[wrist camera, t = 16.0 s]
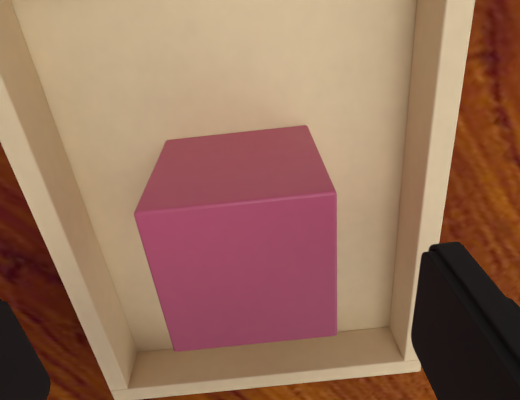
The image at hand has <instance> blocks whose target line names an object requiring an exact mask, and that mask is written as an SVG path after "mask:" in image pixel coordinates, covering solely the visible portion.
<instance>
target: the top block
mask: <svg viewBox="0 0 520 400" xmlns="http://www.w3.org/2000/svg"><path fill="white" fill-rule="evenodd" d="M134 217H135V221H136V224H137V227H138V231H139V234H140V238H141V241H142V244H143V248H144V251H145V255H146V258H147V261H148V265H149V268H150V271H151V275H152V278H153V282H154V285H155V288H156V292H157V295H158V298H159V302H160V305H161V309H162V312H163V315H164V319H165V322H166V326H167V329H168V332H169V336H170V339H171V342H172V346H173V349H174V351H175V352H180V351H190V350H200V349H209V348H219V347H229V346H239V345H249V344H259V343H269V342H279V341H289V340H298V339H308V338H318V337H328V336H335V335H337V193H336V190H335V188H334V186H333V183H332V181H331V179H330V176H329V174H328V172H327V170H326V167H325V165H324V163H323V160H322V158H321V156H320V154H319V151H318V149H317V147H316V144H315V142H314V140H313V137H312V135H311V133H310V131H309V128H308V126H306V125H303V126H293V127H284V128H275V129H265V130H256V131H247V132H238V133H228V134H219V135H210V136H200V137H191V138H182V139H172V140H167V141H166V142H165V144H164V146H163V149H162V151H161V153H160V155H159V158H158V160H157V162H156V164H155V167H154V169H153V171H152V173H151V176H150V178H149V180H148V182H147V185H146V187H145V189H144V191H143V194H142V196H141V198H140V200H139V202H138V205H137V207H136V209H135V211H134Z"/></svg>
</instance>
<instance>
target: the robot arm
mask: <svg viewBox="0 0 520 400" xmlns="http://www.w3.org/2000/svg"><path fill="white" fill-rule="evenodd" d="M411 341H412V345H413V348H414V351H415V353H416V355H417V357H418V359H419V361H420V363H421V366H422V368H423V370H424V372H425V374H426V376H427V378H428V380H429V382H430V384H431V386H432V389H433V391H434V393H435V395H436V397H437V399H438V400H520V307H519V306H518V305H517V304H516V303H515V302H514V301H513V300H511V299H509V298H507V297H505V296H504V294H503V293H502V292H501V291H500V290H499V288H498V287H497V286H496V285H495V284H494V282H493V281H492V280H491V279H490V278H489V276H488V275H487V274H486V273H485V272H484V270H483V269H482V268H481V267H480V266H479V264H478V263H477V262H476V261H475V259H474V258H473V257H472V256H471V255H470V253H469V252H468V251H467V250H466V249H465V247H464V246H463V245H462V244H461V243H459V242H449V243H440V244H433V245H431V246H430V247H429V250H428V252H423V253H422V256H421V262H420V269H419V277H418V284H417V292H416V299H415V307H414V315H413V322H412V330H411ZM50 383H51V382H50V377H49V375H48V373H47V371H46V370H45V368H44V366H43V364H42V362H41V361H40V359H39V357H38V355H37V354H36V352H35V350H34V348H33V347H32V345H31V343H30V341H29V339H28V338H27V336H26V334H25V332H24V331H23V329H22V327H21V325H20V323H19V322H18V320H17V318H16V316H15V315H14V313H13V311H12V309H11V307H10V306H9V304H8V303H7V302H5V301H2V300H1V299H0V400H46V399H47V397H48V394H49V391H50Z"/></svg>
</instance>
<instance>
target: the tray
mask: <svg viewBox="0 0 520 400" xmlns="http://www.w3.org/2000/svg"><path fill="white" fill-rule="evenodd" d="M474 4H475V0H0V142H1V144H2V147H3V149H4V151H5V153H6V156H7V158H8V160H9V162H10V165H11V167H12V169H13V172H14V174H15V176H16V178H17V181H18V183H19V185H20V187H21V190H22V192H23V194H24V196H25V199H26V201H27V203H28V205H29V208H30V210H31V212H32V215H33V217H34V219H35V221H36V224H37V226H38V228H39V230H40V233H41V235H42V237H43V239H44V242H45V244H46V246H47V248H48V251H49V253H50V255H51V258H52V260H53V262H54V264H55V267H56V269H57V271H58V273H59V276H60V278H61V280H62V282H63V285H64V287H65V289H66V292H67V294H68V296H69V298H70V301H71V303H72V305H73V307H74V310H75V312H76V314H77V316H78V319H79V321H80V323H81V325H82V328H83V330H84V332H85V335H86V337H87V339H88V341H89V344H90V346H91V348H92V350H93V353H94V355H95V357H96V359H97V362H98V364H99V366H100V369H101V371H102V373H103V375H104V378H105V380H106V382H107V384H108V387H109V389H110V390H111V393H112V396H113V398H114V400H139V399H149V398H159V397H169V396H179V395H189V394H199V393H209V392H219V391H229V390H239V389H249V388H259V387H269V386H279V385H289V384H299V383H309V382H319V381H329V380H339V379H349V378H359V377H369V376H379V375H389V374H399V373H409V372H419V371H420V368H421V363H420V361H419V359H418V357H417V355H416V353H415V351H414V348H413V345H412V341H411V330H412V322H413V315H414V307H415V299H416V292H417V284H418V277H419V269H420V262H421V256H422V253H423V252H428V250H429V247H430V246H431V245H433V244H439V240H440V233H441V227H442V220H443V213H444V206H445V200H446V193H447V186H448V179H449V173H450V166H451V159H452V152H453V146H454V139H455V132H456V126H457V119H458V112H459V105H460V99H461V92H462V85H463V78H464V72H465V65H466V58H467V51H468V45H469V38H470V31H471V25H472V18H473V11H474ZM303 125H306V126H308V128H309V131H310V133H311V135H312V137H313V140H314V142H315V144H316V147H317V149H318V151H319V154H320V156H321V158H322V160H323V163H324V165H325V167H326V170H327V172H328V174H329V176H330V179H331V181H332V183H333V186H334V188H335V190H336V193H337V335H335V336H328V337H318V338H308V339H298V340H289V341H279V342H269V343H259V344H249V345H239V346H229V347H219V348H209V349H200V350H190V351H180V352H175V351H174V349H173V346H172V342H171V339H170V336H169V332H168V329H167V326H166V322H165V319H164V315H163V312H162V309H161V305H160V302H159V298H158V295H157V292H156V288H155V285H154V282H153V278H152V275H151V271H150V268H149V265H148V261H147V258H146V255H145V251H144V248H143V244H142V241H141V238H140V234H139V231H138V227H137V224H136V221H135V217H134V211H135V209H136V207H137V205H138V202H139V200H140V198H141V196H142V194H143V191H144V189H145V187H146V185H147V182H148V180H149V178H150V176H151V173H152V171H153V169H154V167H155V164H156V162H157V160H158V158H159V155H160V153H161V151H162V149H163V146H164V144H165V142H166V141H167V140H172V139H182V138H191V137H200V136H210V135H219V134H228V133H238V132H247V131H256V130H265V129H275V128H284V127H293V126H303Z"/></svg>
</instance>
